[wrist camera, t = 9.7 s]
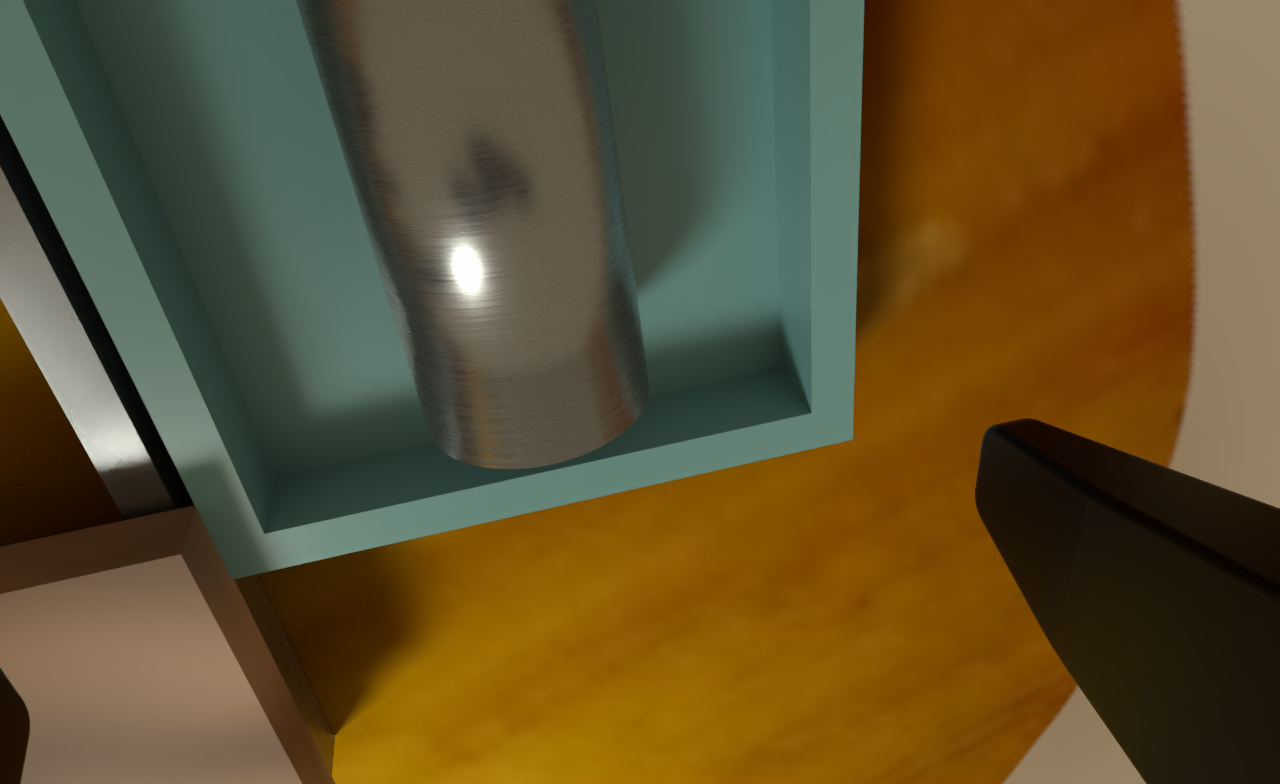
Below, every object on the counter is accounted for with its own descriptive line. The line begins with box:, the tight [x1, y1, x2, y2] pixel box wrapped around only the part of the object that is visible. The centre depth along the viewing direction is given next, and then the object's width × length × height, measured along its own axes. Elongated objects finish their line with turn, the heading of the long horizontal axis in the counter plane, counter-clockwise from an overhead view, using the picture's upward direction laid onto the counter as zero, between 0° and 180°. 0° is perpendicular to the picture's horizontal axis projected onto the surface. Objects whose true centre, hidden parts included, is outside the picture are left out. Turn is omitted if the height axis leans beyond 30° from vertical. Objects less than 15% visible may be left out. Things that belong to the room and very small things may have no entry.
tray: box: [0, 0, 864, 580], centre depth 17 cm, size 15×14×2 cm
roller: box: [296, 0, 650, 469], centre depth 15 cm, size 9×4×4 cm, turn 7°
